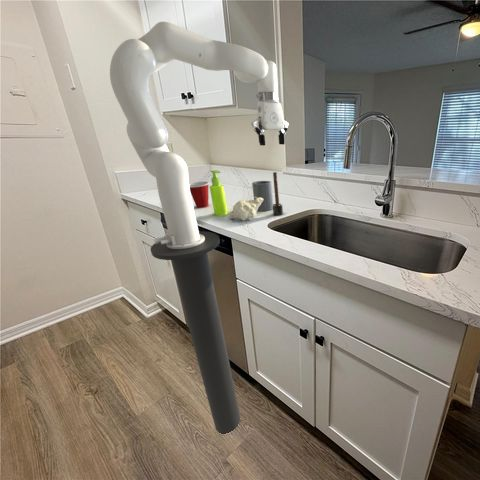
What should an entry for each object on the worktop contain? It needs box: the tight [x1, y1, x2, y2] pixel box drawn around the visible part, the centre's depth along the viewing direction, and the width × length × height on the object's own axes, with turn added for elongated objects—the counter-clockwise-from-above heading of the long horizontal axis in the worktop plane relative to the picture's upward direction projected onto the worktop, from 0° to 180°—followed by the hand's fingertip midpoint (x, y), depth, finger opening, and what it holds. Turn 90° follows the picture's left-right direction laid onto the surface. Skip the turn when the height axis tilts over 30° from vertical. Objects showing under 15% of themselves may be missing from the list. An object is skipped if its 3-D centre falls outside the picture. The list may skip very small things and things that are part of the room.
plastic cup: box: [189, 181, 210, 209], centre depth 133 cm, size 11×11×12 cm
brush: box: [272, 171, 284, 217], centre depth 117 cm, size 4×4×19 cm
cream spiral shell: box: [226, 197, 264, 221], centre depth 114 cm, size 15×7×15 cm
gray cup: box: [251, 180, 274, 212], centre depth 127 cm, size 9×9×13 cm
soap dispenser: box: [209, 169, 229, 217], centre depth 118 cm, size 6×7×20 cm
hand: (272, 144), depth 109 cm, fingers open, 9 cm apart
